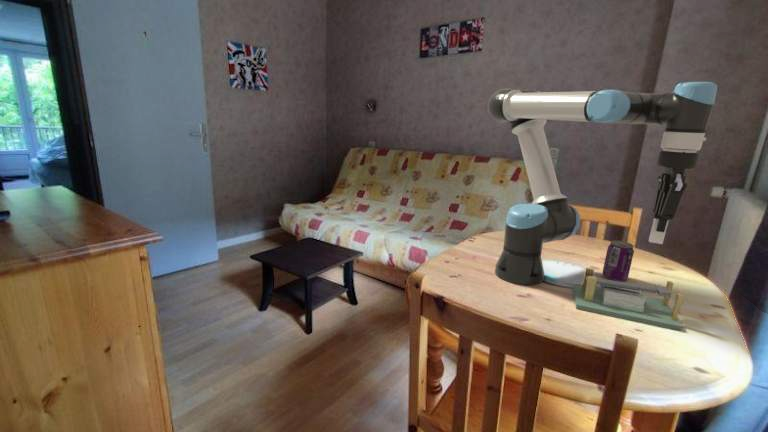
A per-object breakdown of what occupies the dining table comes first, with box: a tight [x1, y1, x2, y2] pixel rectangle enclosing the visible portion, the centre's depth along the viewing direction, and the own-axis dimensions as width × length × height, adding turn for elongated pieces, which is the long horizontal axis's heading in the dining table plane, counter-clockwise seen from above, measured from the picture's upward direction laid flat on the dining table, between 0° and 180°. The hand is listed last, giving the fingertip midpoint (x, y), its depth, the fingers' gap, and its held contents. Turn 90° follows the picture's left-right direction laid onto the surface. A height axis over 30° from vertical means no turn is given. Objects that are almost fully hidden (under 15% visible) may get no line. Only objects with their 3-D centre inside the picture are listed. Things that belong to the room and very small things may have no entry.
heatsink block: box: [598, 284, 645, 313], centre depth 95 cm, size 9×9×4 cm
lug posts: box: [582, 267, 684, 320], centre depth 94 cm, size 21×9×7 cm, turn 65°
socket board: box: [572, 282, 683, 332], centre depth 96 cm, size 23×15×1 cm, turn 65°
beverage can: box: [601, 240, 635, 282], centre depth 112 cm, size 7×7×12 cm
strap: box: [586, 275, 672, 298], centre depth 94 cm, size 19×4×2 cm, turn 65°
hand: (655, 242), depth 89 cm, fingers closed
